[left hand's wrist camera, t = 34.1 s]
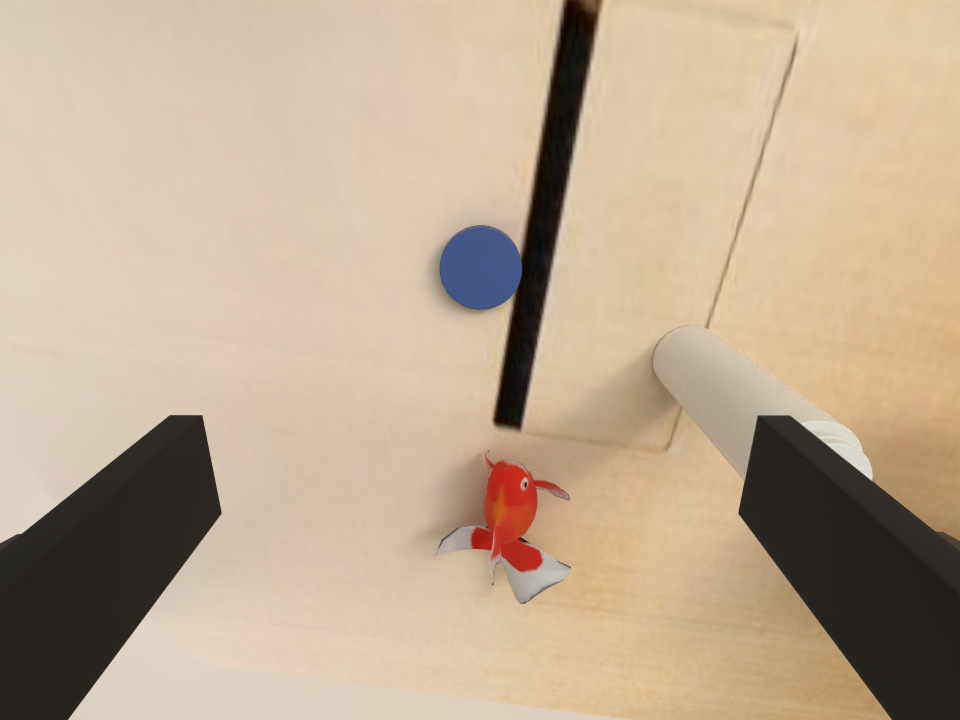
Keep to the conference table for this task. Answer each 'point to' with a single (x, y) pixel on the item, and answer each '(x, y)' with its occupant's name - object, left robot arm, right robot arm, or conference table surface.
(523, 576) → the fish
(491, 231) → the lid
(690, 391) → the jar
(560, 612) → the conference table surface
